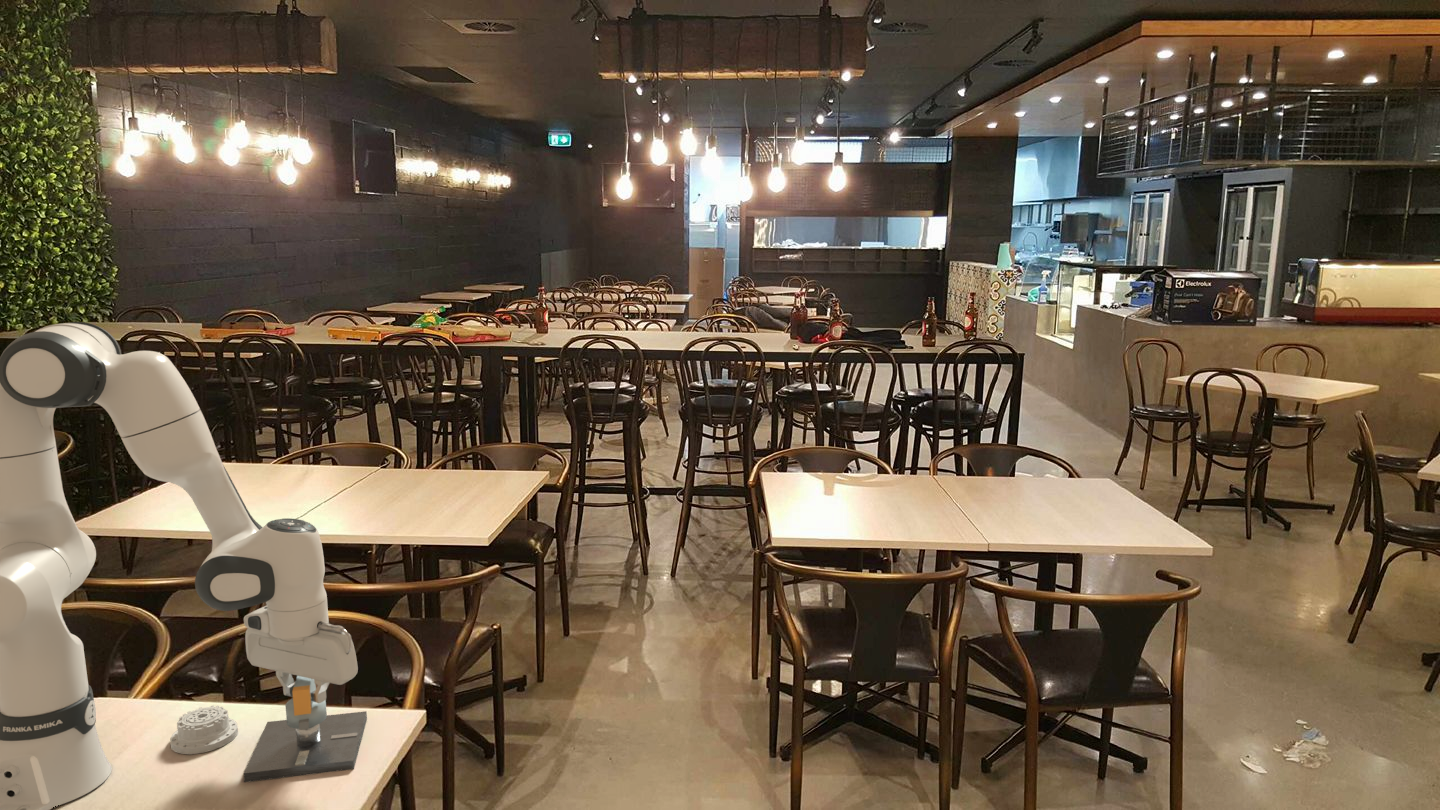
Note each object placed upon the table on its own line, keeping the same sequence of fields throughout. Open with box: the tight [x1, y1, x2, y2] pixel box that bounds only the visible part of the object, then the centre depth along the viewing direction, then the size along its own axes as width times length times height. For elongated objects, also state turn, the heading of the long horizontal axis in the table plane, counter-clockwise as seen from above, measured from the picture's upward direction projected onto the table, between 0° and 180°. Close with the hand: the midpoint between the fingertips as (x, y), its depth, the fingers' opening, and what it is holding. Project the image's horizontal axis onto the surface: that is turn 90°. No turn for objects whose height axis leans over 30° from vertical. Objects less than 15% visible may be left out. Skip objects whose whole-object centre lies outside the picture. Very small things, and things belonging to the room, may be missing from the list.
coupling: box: [285, 675, 327, 730], centre depth 152 cm, size 8×6×7 cm
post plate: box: [243, 710, 368, 783], centre depth 154 cm, size 16×16×5 cm
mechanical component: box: [169, 705, 239, 755], centre depth 157 cm, size 10×4×10 cm
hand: (304, 697), depth 152 cm, fingers closed on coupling, 4 cm apart
